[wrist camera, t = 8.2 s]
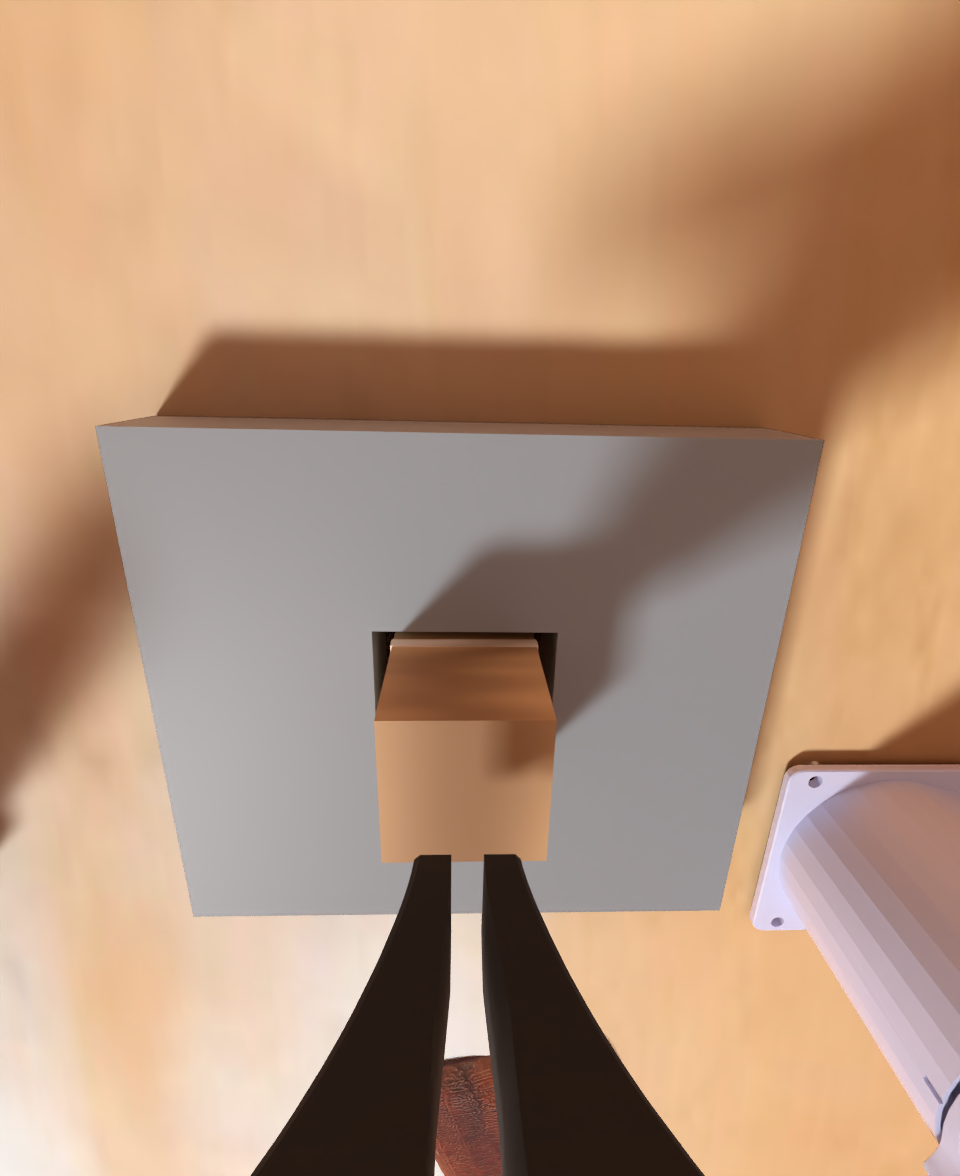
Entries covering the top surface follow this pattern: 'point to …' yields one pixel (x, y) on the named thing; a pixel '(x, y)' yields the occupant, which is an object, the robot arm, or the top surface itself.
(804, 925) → the robot arm
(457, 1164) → the wooden tablet
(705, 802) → the slate board
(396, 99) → the top surface
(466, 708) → the oak peg
